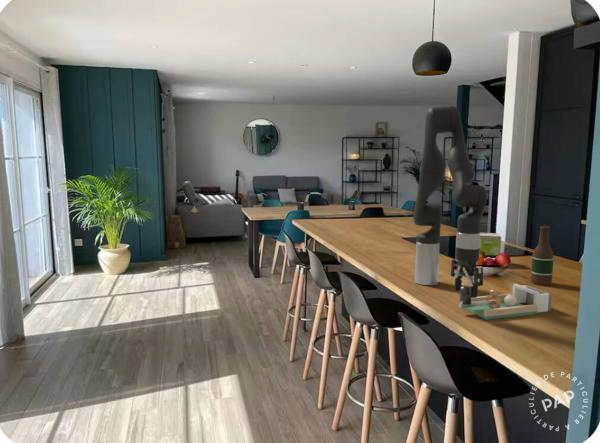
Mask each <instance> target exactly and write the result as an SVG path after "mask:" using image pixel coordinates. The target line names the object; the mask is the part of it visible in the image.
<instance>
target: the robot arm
mask: <svg viewBox="0 0 600 443" xmlns="http://www.w3.org/2000/svg"><path fill="white" fill-rule="evenodd" d="M424 120H425V122H424V123H425V124H424V141H423V143H424V144H423V151H422V152H423V153H422V159H421V163H420V170H419V177H418V178H419V179H418V180H419V181H418V188H417V189H418V190H417V195H416V199H415V202H414V203H415V204H414V209H413V215H412V218H413V222H414V224H415V225H416V226H419V227H423V226H424V227H430V228H429V229H428V230H426V231H424V232H422V233H421V232H420V233H419V234H417V235H416V247H415V249H416V250H415V253H416V255H415V259H414V282H415V283H416V284H417V285H422V286H436V285H438V284H439V266H440V243H441V240H440V239H441V238H440V237H441V226H442V215H443V214H442V213H443V211H442V206H441V205H440V203H436V202H435V203H431V202H429V203H427V201H428V199H429V198H430V196H431V195H433V193H434V192H435V191H436V190H437V189H439V188H440V186H442V183H443V182H444V180H445V175H446V169H447V166H448V169H449V173H450V176H451V179H452V180H451V181H452V182H451V183H452V200H453V203H454V204H455V205H456V206H458V207H460V208H469V209H468V211H467V212H466V213H461V214H460V215H459V216H458V217H457V223H456V224H457V226H456V227H457V228H456V229H457V230H456V237H455V252H454V253H455V254H454V256H455V257H454V258H455V259H452V260H451V264H450V265H451V266H450V268H451V269H450V276H451V277H453V280H454V290H455V292H460V286H462V284H463V279H462V278H463V277H464V278H466V280H467V281H468V282H469V284H470V285H469V286H470V297H471V298H476V297H478V292H479V291H478V290H479V289H478V288H479V287H482V286H483V285H484V268H483V267H482V266H480V267H478V266H477V264H476V262H477V261H479V254H480V233H481V220H482V216H483V214H484V211H485V207H486V206H487V205H486V204H487V202H488V192H487V190H486V188H485V187H484V186H483V185H478V184H476V185H475V184H474V185H473V184H472V185H469V184H468V183H469V182H471V181H473V179H474V177H475V172H474V170H473V167H472V166H473V165H472V164H471V160H470V158H469V155H468V151H467V146H466V141H465V135H464V129H463V124H462V117H461V114H460V112H459V109H458V108H457V107H456V105H445V106H437V107H436V106H434V107H431V108H429V109H428V110H427V111H426V115H425V119H424ZM447 133H451V136H452V142H451V145H450V146H451V147H450V148H449V151H448V154H447V161H446V159H445V157H444V155H443V153H442V152H441V151H440V149H439V146H438V145H437V135H438V134H447ZM466 184H468V185H466Z"/></svg>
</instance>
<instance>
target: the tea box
mask: <svg viewBox="0 0 600 443" xmlns="http://www.w3.org/2000/svg"><path fill="white" fill-rule="evenodd" d="M501 244H502V236H501V235H499V233H495V232H494V233H493V232H480V249H482V250H483V251H484V252H485V255H486V257H490V258H495V257H496V256H498V255H499V254H500V255H501V246H502V245H501Z"/></svg>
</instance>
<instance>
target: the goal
mask: <svg viewBox="0 0 600 443" xmlns="http://www.w3.org/2000/svg"><path fill="white" fill-rule="evenodd" d="M511 293H512V294H511V295H513V296H515V297H516V299H517V303H519V304H524V303H527V305H533V304H536V305H538V309H537V313H545V312H551V311H552V310H551V309H552V297H553V296H552V295H553V294H552V293H550V292H548V291H545V290H542V289H539V288H536V287H533V286H530V285H528V284H527V285H521V284H517V283H513V284H512V292H511Z"/></svg>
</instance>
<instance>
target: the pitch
mask: <svg viewBox="0 0 600 443" xmlns="http://www.w3.org/2000/svg"><path fill="white" fill-rule="evenodd" d="M507 295H512V294H510V293H502V294H498V295H497V296H496V297H497V298H499V299H500V308H493V307H491V306H489V305H488V306H478V307H468V308H463V309H464V310H466V311H468V312H470V313H472V314H474V315H476V316H478V317H480V318H482V319H484V320H487V321H488V320H493V319H494V320H495V319H504V318H505V319H506V318H512V317H513V318H515V317H522V316H533V315H538V312H537V309H538V305H536V304H533V305H531V304H527V305H526V304H525V305H523V304H522V303H516V305H514V306H508V305H506V304H505V302H504V298H505V297H506V296H507ZM483 300H487V295H483V296H482V295H480V296H477V297H476V298H471V302H473V301H483Z"/></svg>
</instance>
